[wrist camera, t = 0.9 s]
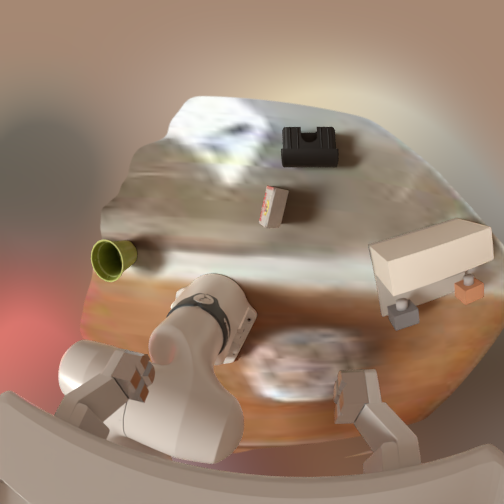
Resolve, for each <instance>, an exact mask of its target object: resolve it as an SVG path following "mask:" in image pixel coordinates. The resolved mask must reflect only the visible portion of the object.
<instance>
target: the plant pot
mask: <svg viewBox="0 0 504 504" xmlns="http://www.w3.org/2000/svg"><path fill="white" fill-rule="evenodd" d="M119 253H120V255H119ZM136 259H137V250H136V248H135V246H134V245H133V244H132V243H131V242H130V241H114V242H112V241H110V240H100V241H98V242H97V243H96V244H95V245H94V246H93V249H92V252H91V262H92V266H93V269H94V271H95V272H96V274H97V275H98V276H99V277H100V278H101V279H102V280H104V281H107V282H114V281H116V280H118V279H119V278H120V276H121V275H122V273H123V272H124V271H125V270H126V269H127V268H129V267H130V266H131V265H133V264H134V263H135V261H136Z"/></svg>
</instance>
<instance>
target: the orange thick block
mask: <svg viewBox="0 0 504 504" xmlns="http://www.w3.org/2000/svg"><path fill="white" fill-rule="evenodd" d="M454 288H455V297H457V298H458V299H459V300H460V301H461V302H463V303H464V304H465V305H467V304H469V303H471V302H474V301H476V300H478V299H480V298H483V297H484V283H482V282H481V281H479V280H477V279H476V278H474V275H472V274H467V275H464V276H463V280H461V281H458V282H456V283H454Z"/></svg>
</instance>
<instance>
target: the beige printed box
mask: <svg viewBox="0 0 504 504" xmlns="http://www.w3.org/2000/svg"><path fill="white" fill-rule="evenodd" d="M288 192H289V190H284V189H280V188H276V187H272V186H267V188H266V193H265V197H264V202H263V206H262V210H261V215H260V219H259V223H260V224H261V225H262V226H264V228H265V226H266V225H267V228H279V226H280V225H281V222H282V218H283V214H284V209H285V205H286V201H287V197H288Z"/></svg>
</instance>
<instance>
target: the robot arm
mask: <svg viewBox="0 0 504 504" xmlns="http://www.w3.org/2000/svg"><path fill="white" fill-rule="evenodd" d="M256 317H257V312H256V311H255V309H254V308H253V307H252V306H251V305H250V304H249V303H248V301H247V299H246V296H245V294H244V292H243V291H242V289H241V288H240V287H239V285H238V284H236V283H235V282H234V281H233V280H231V279H230V278H228V277H226V276H223V275H219V274H206V275H202V276H200V277H198V278H196V279H195V280H194V281H193V282H192V283H191V284H190V285H189V286H187V287H184V288H181V289H179V290H178V291H177V293H176V300H175V301H174V302H173V303H172V305H171V310H170V312H169V313H168V315H167V317H166V319H165V320H164V321H163V322H162V323H161V324H160V325H159V326H158V327H156V328H155V330H154V331H153V332H152V334H151V337H150V340H149V354H150V357H151V359H152V362H153V363H152V362H150V361H149V360H150V358H149V356H148V354H143V353H138V352H134V351H129V350H125V349H120V348H118V347H115V346H112V345H108V344H104V343H100V342H96V341H91V340H80V341H78V342H77V343H75V344H73V345H72V346H71V347H70V348H69V349H68V350H67V351H66V353H65V354H64V356H63V357H62V359H61V362H60V366H59V374H58V376H59V384H60V388H61V390H62V392H63V393H64V395H65V396H64V398H63V400H62V402H61V404H60V405H59V407H58V409H57V411H56V413H55V415H52V414H50V413H48V412H46V411H44V410H43V409H41V408H39V407H37V406H36V405H34V404H32V403H31V402H29V401H27V400H26V399H24V398H22V397H21V396H19V395H18V394H16V393H15V392H13V391H6V392H4V393H2V394H0V504H504V454H503V453H502V452H501V451H500V450H499V449H497V448H496V447H494V446H493V445H491V444H484V445H481V446H479V447H476V448H473V449H471V450H468V451H465V452H462V453H459V454H456V455H453V456H449V457H446V458H442V459H439V460H435V461H431V462H428V463H423V464H421V458H420V451H419V444H418V438H417V436H416V435H415V434H414V433H413V432H412V431H411V429H410V428H409V427H408V426H407V425H406V424H405V423H404V422H403V421H402V420H401V419H400V418H399V417H398V416H397V414H396V413H395V412H394V411H393V410H392V409H391V408H390V407H389V406H388V405H387V404H386V403H385V402H382V400H381V394H380V388H379V382H378V377H377V371H376V370H375V369H367V370H363V369H360V370H340V371H339V373H338V380H337V381H336V382H335V385H334V402H335V403H336V407H335V409H334V421H335V424H345V423H354V425H355V427H356V428H357V429H358V431H359V432H360V434H361V435H362V436H363V438H364V439H365V441H366V442H367V444H368V445H369V446H370V448H371V449H372V451H373V452H374V453H373V454H372V455H371V457H369V458H368V459H367V460H366V461H365V462H364V474H358V475H348V476H331V477H277V476H263V475H251V474H242V473H234V472H227V471H220V470H214V469H208V468H203V467H197V466H193V465H188V464H184V463H179V462H175V461H173V460H172V458H171V456H172V457H175V458H178V459H183V460H189V461H194V462H202V463H210V464H215V463H217V462H219V461H221V460H223V459H225V458H226V457H228V456H229V455H230V454H231V453H232V452H233V451H234V450H235V449H236V447H237V446H238V444H239V443H240V441H241V438H242V435H243V431H244V416H243V412H242V409H241V406H240V404H239V402H238V401H237V399H236V398H235V397H234V396H233V395H232V394H230V393H229V392H228V391H227V390H226V389H225V388H224V387H223V386H222V385H221V383H220V382H219V380H218V379H217V377H216V375H215V373H214V369H213V367H214V365H221V364H223V363H232V362H234V360H235V359H236V357H237V355H238V353H239V351H240V349H241V347H242V345H243V343H244V341H245V339H246V337H247V335H248V333H249V331H250V329H251V327H252V325H253V324H254V322H255V320H256ZM248 318H250V319H251V320H248Z"/></svg>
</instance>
